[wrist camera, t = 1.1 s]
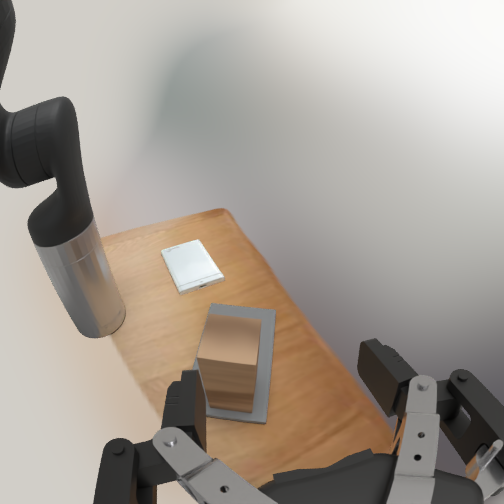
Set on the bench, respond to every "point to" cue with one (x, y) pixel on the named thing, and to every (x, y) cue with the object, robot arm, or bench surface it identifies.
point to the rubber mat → (262, 370)
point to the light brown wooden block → (230, 361)
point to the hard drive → (191, 267)
